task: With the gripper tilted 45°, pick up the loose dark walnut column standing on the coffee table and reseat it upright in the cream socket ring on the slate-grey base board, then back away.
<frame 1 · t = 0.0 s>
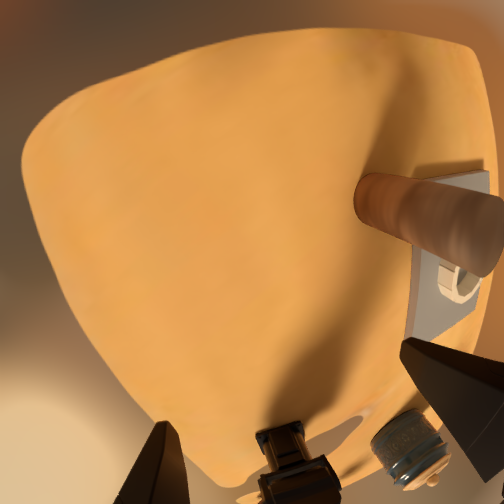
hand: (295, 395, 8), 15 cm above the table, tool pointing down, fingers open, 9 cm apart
base board: (450, 258, 28), on the table
canister: (394, 428, 41), on the table
walnut column: (375, 199, 23), on the table
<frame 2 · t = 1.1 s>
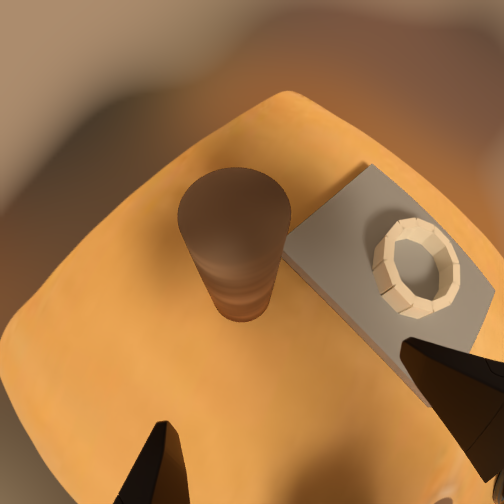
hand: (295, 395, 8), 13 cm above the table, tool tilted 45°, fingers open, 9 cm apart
base board: (405, 277, 24), on the table
walnut column: (241, 293, 24), on the table
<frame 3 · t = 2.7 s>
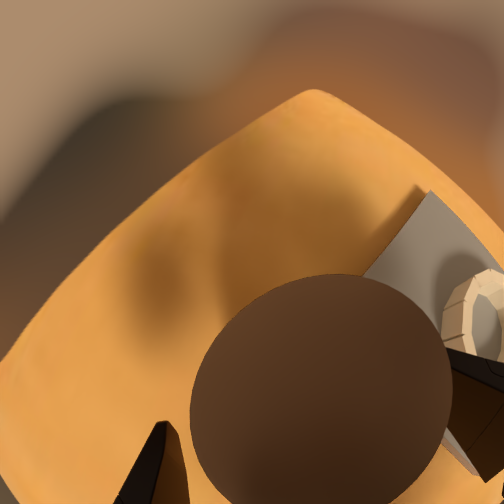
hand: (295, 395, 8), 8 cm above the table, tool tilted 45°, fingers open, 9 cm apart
base board: (467, 338, 16), on the table
walnut column: (274, 385, 15), on the table
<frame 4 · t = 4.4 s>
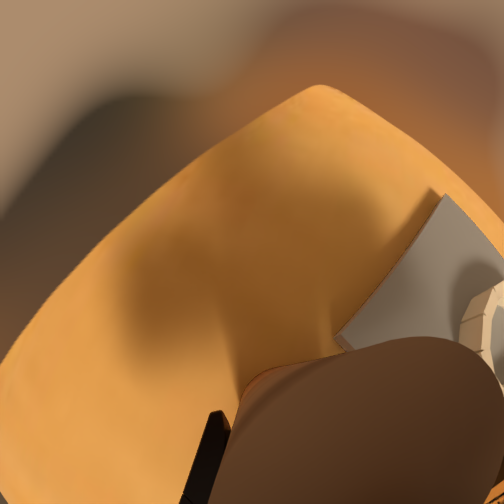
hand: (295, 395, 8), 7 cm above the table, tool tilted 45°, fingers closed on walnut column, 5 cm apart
base board: (481, 350, 14), on the table
walnut column: (283, 407, 14), on the table, touching gripper
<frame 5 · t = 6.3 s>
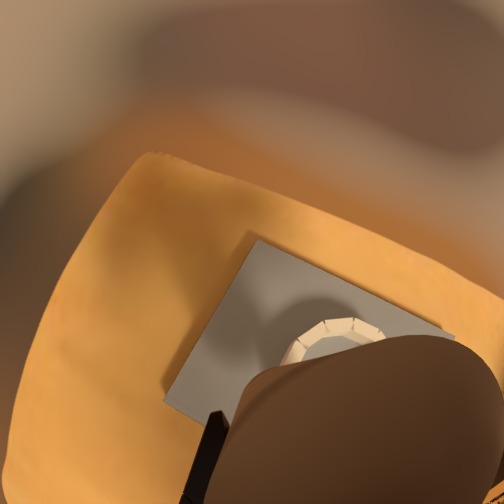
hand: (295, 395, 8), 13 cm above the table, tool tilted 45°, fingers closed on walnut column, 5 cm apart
base board: (328, 378, 21), on the table
walnut column: (283, 406, 14), point 7 cm above the table, touching gripper
when the fingers open (9 cm above the table, at t = 8.3 s): walnut column drops 1 cm, resting on base board.
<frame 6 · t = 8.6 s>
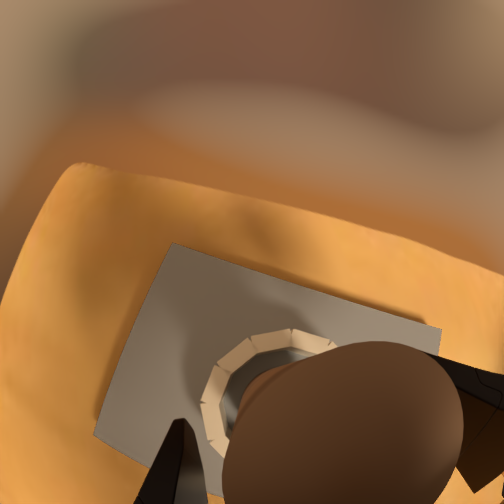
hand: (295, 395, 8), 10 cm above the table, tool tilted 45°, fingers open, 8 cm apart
base board: (278, 401, 16), on the table
walnut column: (281, 405, 15), point 2 cm above the table, touching base board
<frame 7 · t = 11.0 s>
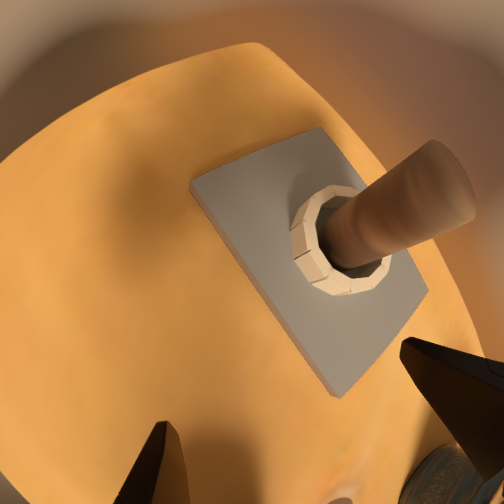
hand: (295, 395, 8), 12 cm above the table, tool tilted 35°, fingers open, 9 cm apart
base board: (328, 248, 25), on the table
canister: (426, 480, 21), on the table
walnut column: (336, 244, 23), point 1 cm above the table, touching base board
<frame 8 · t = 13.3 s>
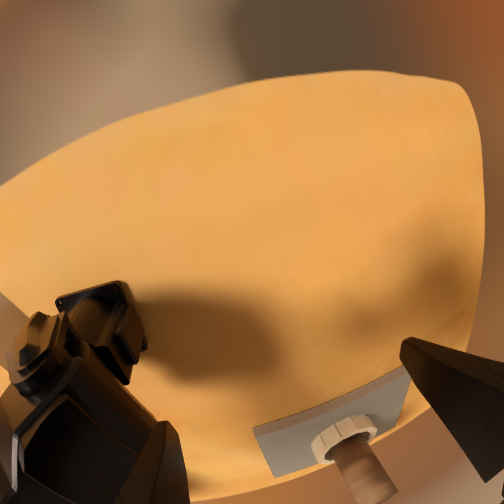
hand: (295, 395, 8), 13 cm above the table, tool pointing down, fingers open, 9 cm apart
base board: (336, 427, 32), on the table
walnut column: (340, 434, 30), point 2 cm above the table, touching base board
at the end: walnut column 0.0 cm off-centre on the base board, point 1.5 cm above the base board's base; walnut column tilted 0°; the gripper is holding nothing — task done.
